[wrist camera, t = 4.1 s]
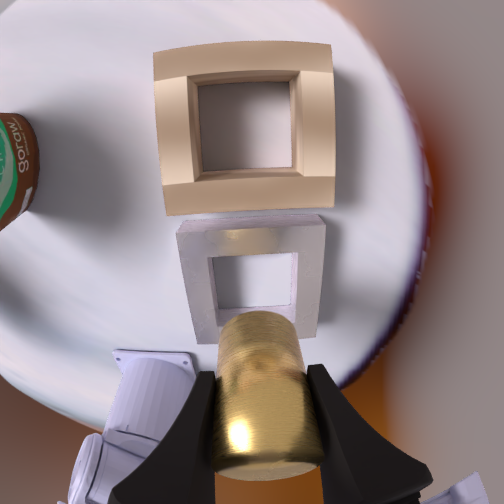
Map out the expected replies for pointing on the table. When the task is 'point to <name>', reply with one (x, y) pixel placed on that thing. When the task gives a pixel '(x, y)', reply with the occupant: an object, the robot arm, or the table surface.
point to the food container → (17, 166)
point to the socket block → (252, 243)
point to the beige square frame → (256, 179)
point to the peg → (263, 402)
